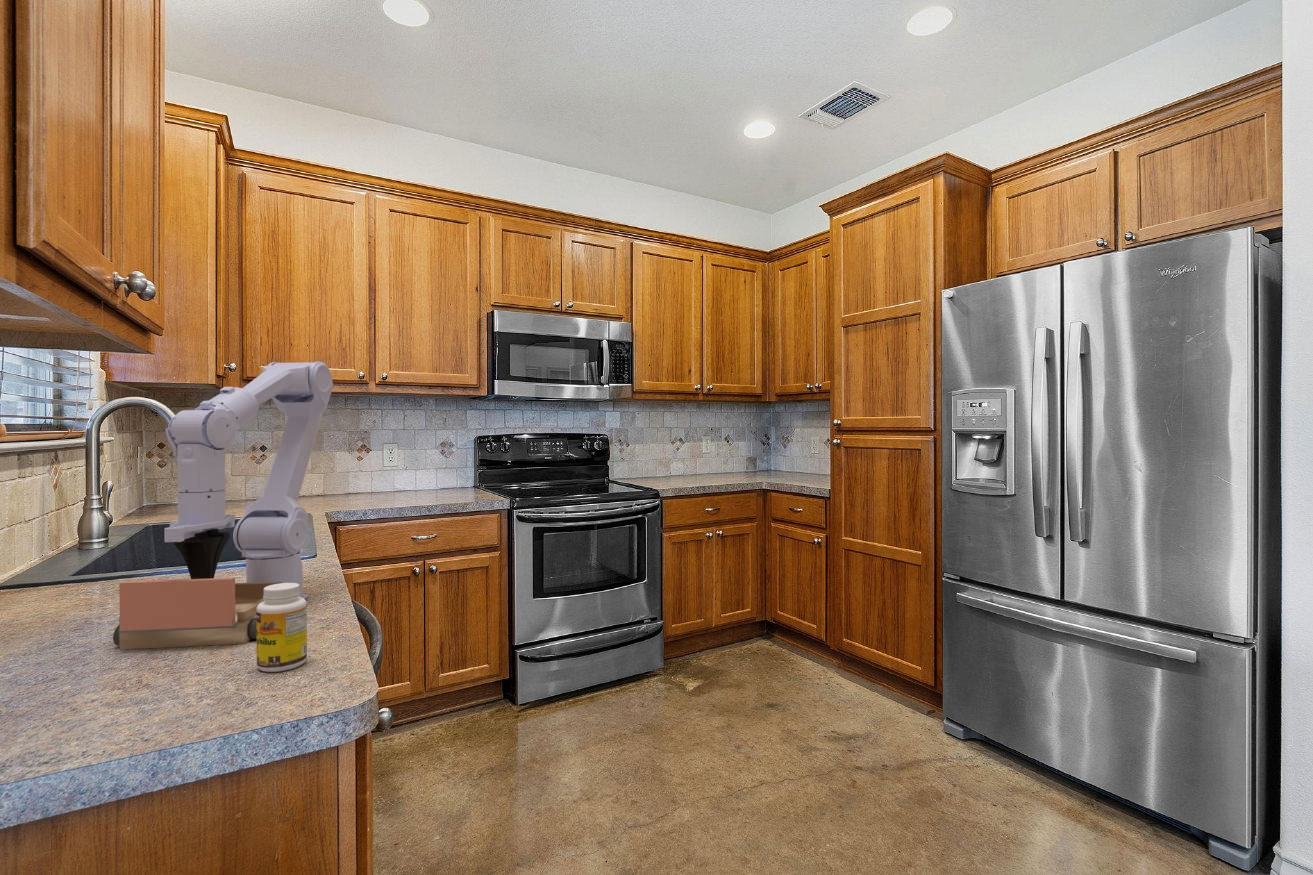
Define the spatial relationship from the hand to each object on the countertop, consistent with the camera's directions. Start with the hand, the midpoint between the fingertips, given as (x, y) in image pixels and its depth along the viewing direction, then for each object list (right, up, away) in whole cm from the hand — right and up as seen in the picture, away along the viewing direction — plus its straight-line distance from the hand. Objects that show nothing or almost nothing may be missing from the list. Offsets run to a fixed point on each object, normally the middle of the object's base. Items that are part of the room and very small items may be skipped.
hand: (202, 583), depth 93 cm
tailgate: (+1, -5, -6) cm, 8 cm away
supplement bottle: (+19, -8, -12) cm, 24 cm away
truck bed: (0, -8, +1) cm, 8 cm away
